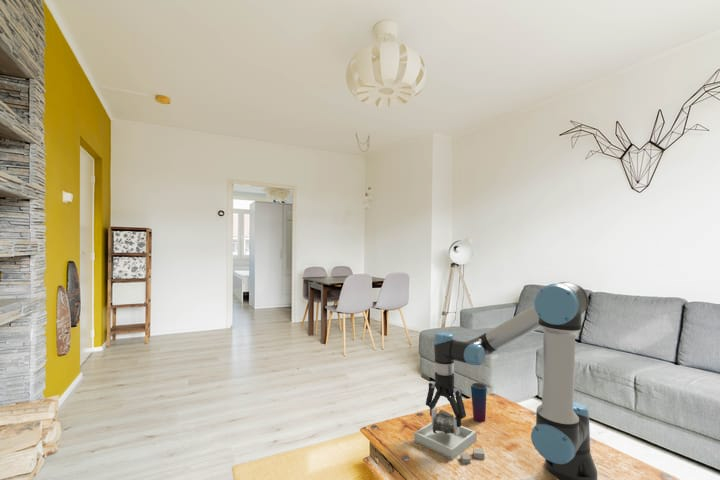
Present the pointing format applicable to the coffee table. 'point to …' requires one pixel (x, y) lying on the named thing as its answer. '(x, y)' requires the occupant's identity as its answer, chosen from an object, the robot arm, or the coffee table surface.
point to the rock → (444, 422)
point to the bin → (445, 440)
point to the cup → (479, 401)
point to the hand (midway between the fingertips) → (445, 429)
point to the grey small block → (478, 453)
